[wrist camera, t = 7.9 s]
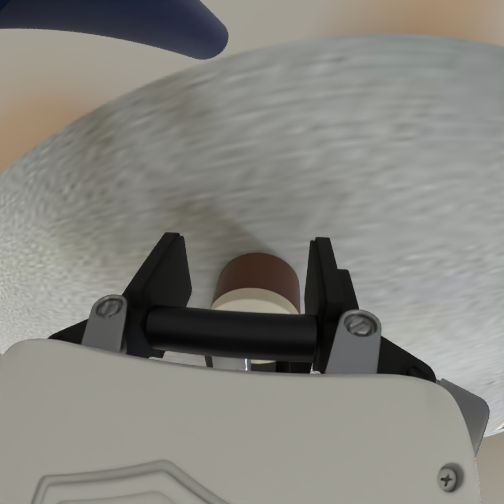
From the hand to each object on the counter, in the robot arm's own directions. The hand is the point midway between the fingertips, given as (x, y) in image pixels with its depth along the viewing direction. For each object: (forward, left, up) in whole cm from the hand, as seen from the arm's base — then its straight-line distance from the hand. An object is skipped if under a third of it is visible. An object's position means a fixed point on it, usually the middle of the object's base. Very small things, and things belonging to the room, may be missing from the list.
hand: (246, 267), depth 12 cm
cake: (+6, 0, -6) cm, 9 cm away
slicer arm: (+7, 0, +4) cm, 8 cm away
